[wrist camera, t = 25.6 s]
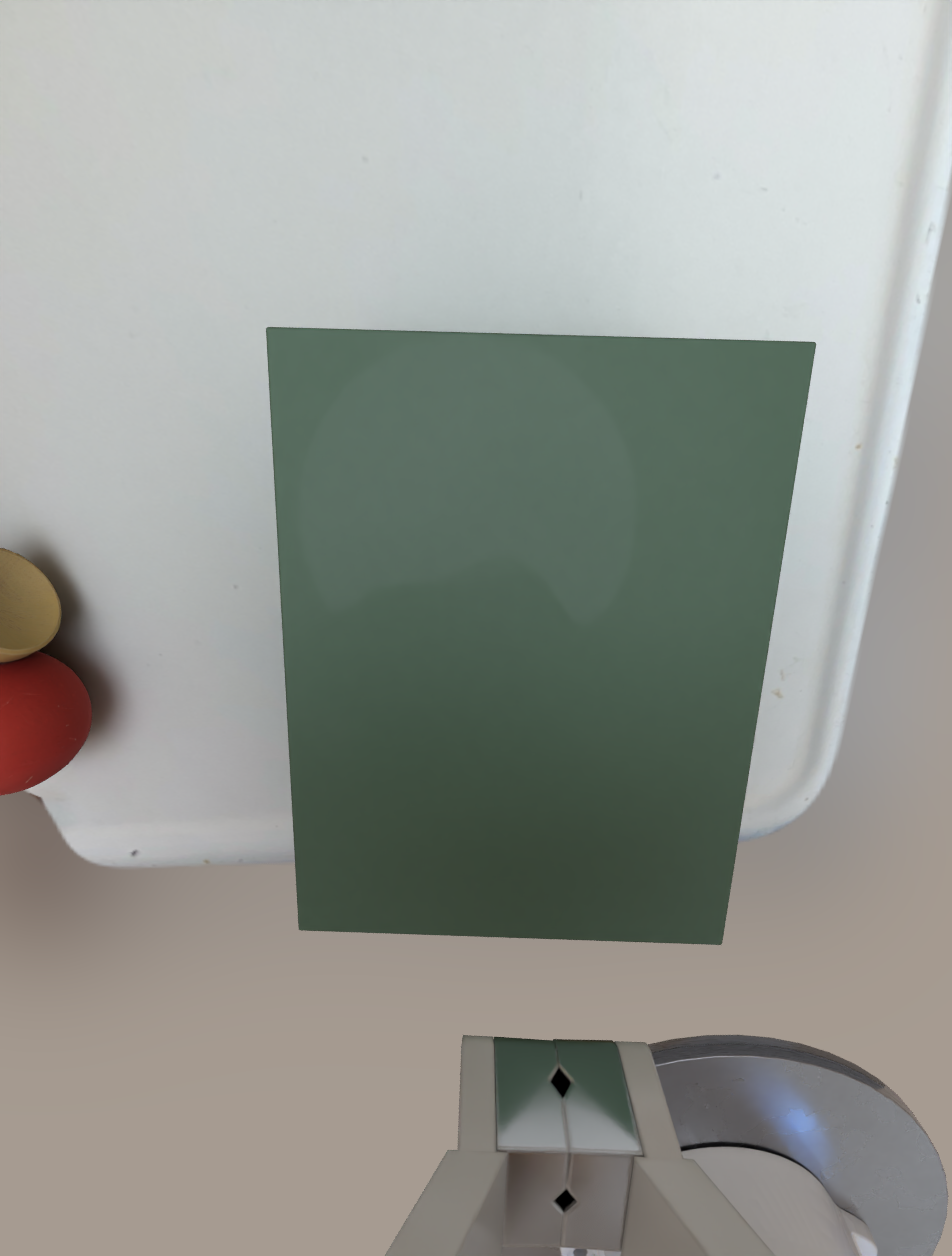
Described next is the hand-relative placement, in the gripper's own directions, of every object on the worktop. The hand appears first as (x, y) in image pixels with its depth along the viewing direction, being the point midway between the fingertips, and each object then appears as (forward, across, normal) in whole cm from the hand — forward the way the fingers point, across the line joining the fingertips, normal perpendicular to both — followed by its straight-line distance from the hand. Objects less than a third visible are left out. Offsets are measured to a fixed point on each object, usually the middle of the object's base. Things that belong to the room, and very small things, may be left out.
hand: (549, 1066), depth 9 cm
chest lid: (+8, 0, -4) cm, 9 cm away
